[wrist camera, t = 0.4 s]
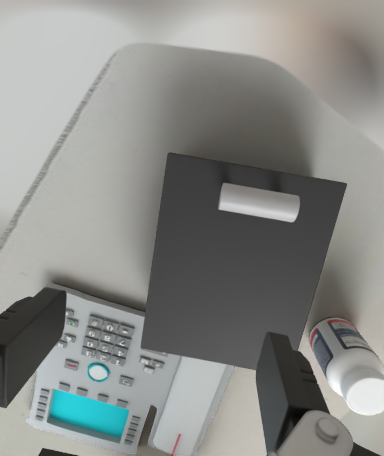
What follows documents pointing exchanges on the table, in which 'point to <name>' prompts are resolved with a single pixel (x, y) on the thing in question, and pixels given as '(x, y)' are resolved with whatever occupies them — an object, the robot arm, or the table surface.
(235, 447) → the table surface
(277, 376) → the robot arm
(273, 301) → the lid
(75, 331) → the office telephone
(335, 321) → the pill bottle
